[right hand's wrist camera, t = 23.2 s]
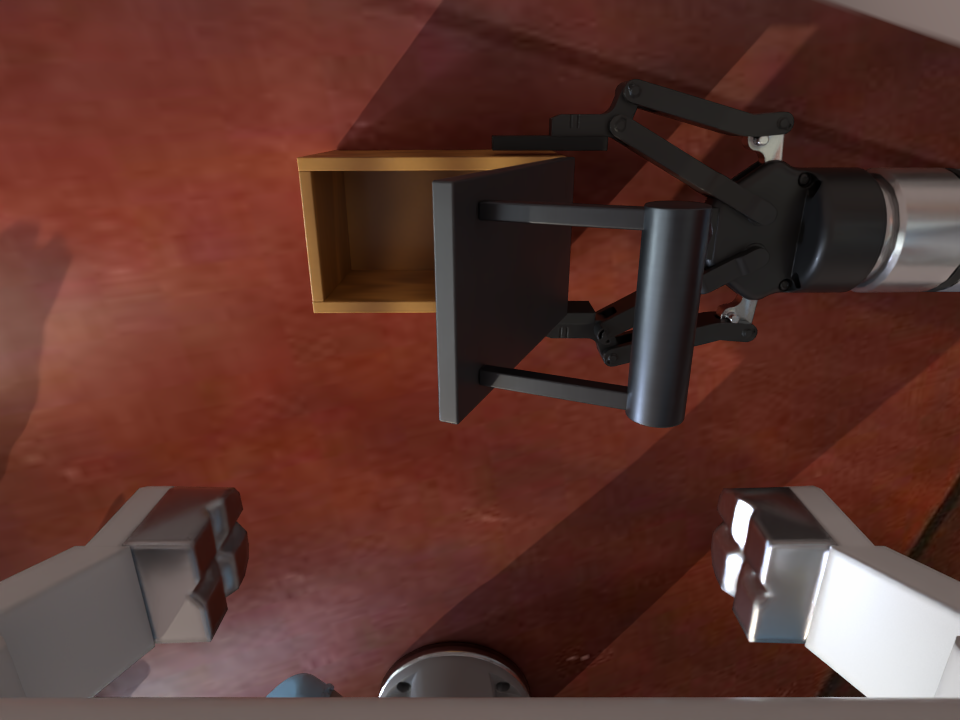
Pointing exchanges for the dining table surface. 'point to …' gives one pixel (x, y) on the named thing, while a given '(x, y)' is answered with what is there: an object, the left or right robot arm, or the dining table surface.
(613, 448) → the dining table surface
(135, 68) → the dining table surface
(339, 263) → the chest
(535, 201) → the lid
